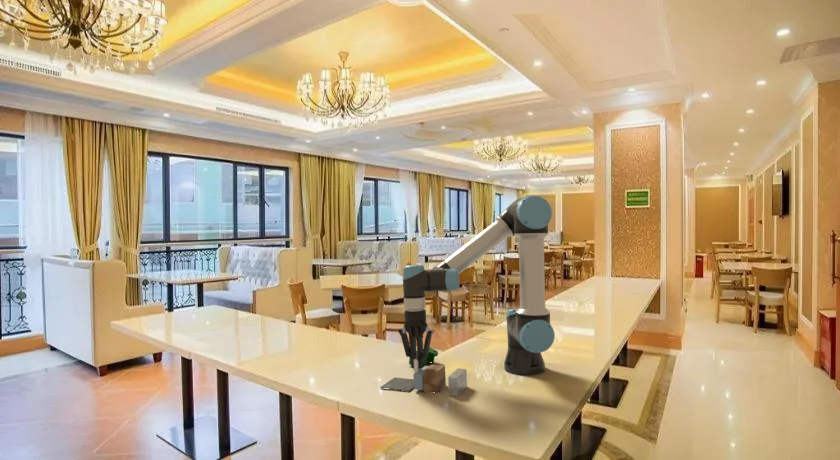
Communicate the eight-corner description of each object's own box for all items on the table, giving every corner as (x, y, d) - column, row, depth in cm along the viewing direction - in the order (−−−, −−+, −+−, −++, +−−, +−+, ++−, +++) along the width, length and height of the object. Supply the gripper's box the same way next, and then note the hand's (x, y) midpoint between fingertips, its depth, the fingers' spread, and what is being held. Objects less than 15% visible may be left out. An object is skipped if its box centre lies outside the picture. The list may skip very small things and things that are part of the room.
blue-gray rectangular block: (433, 380, 159) (432, 366, 159) (422, 390, 150) (421, 375, 150) (425, 380, 160) (425, 365, 161) (414, 389, 151) (413, 374, 151)
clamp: (421, 378, 179) (418, 360, 176) (410, 372, 183) (407, 355, 180) (440, 360, 187) (438, 343, 183) (430, 355, 191) (427, 338, 187)
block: (445, 385, 156) (444, 365, 156) (437, 393, 149) (436, 372, 149) (432, 384, 158) (431, 364, 158) (423, 392, 151) (422, 371, 151)
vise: (467, 386, 155) (466, 368, 155) (457, 397, 145) (456, 378, 145) (394, 379, 166) (393, 362, 166) (380, 388, 156) (379, 371, 156)
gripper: (436, 308, 157) (439, 375, 157) (402, 307, 163) (405, 372, 162) (428, 311, 151) (431, 382, 150) (393, 310, 156) (396, 379, 155)
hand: (417, 377), depth 156 cm, fingers closed
